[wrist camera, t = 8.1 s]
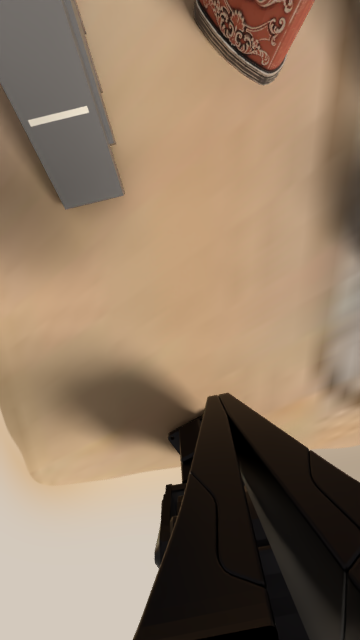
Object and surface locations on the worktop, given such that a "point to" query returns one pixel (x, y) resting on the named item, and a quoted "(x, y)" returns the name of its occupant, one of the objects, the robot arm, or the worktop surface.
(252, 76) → the lighter
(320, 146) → the worktop surface
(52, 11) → the domino
